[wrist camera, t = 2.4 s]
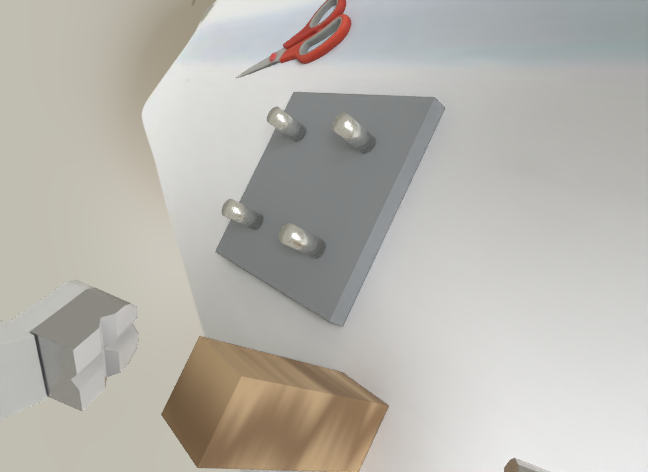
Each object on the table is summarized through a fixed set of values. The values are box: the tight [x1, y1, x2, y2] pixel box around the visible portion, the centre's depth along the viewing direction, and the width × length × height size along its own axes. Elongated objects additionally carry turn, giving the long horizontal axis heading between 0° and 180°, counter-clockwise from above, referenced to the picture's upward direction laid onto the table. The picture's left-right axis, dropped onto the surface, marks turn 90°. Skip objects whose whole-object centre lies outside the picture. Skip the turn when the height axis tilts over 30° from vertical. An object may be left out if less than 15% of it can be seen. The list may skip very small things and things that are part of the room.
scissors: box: [236, 0, 351, 78], centre depth 55 cm, size 8×21×2 cm, turn 88°
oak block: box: [161, 336, 389, 472], centre depth 27 cm, size 4×4×12 cm
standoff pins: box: [222, 107, 376, 259], centre depth 39 cm, size 11×11×4 cm
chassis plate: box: [215, 92, 445, 327], centre depth 41 cm, size 18×18×2 cm
